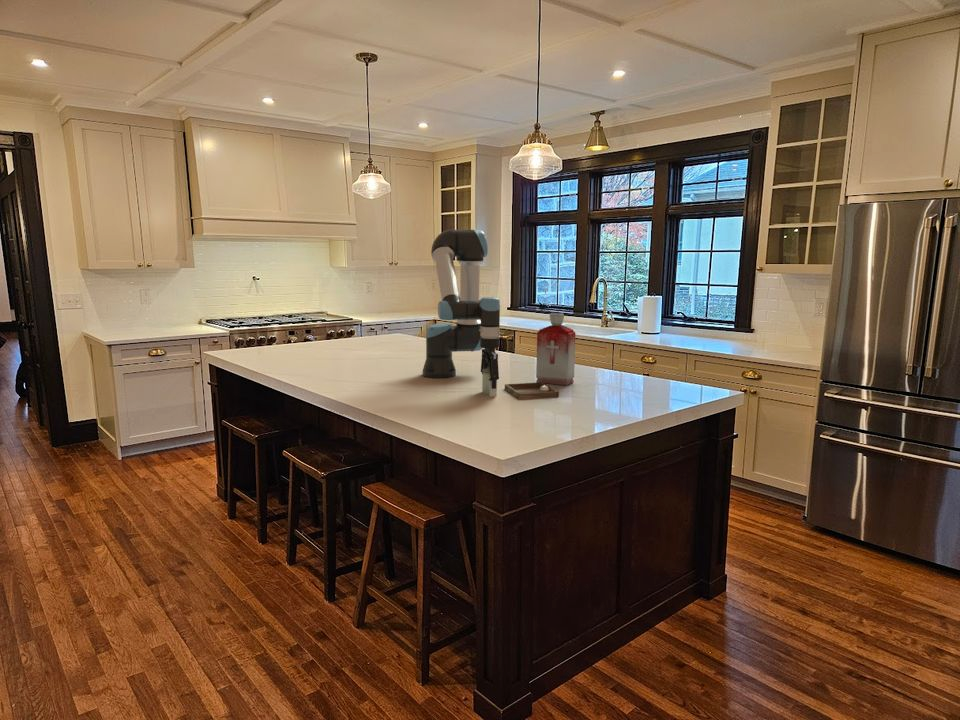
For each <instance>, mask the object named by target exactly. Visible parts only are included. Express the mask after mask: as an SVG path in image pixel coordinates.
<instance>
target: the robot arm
mask: <svg viewBox="0 0 960 720" xmlns="http://www.w3.org/2000/svg"><path fill="white" fill-rule="evenodd" d="M488 247H489V246H488V240H487V237H486V234H485V232H484V231H483V230H481V229H479V230H478V229H446V230H444V231H442V232H441V233H439V234H438V235H437V237H435V239H434V241H433V243H432V245H431V251H430V253H431V258H432V261H433V262H435V268H436V269H435V270H436V274H437V281H438V286H439V293H440V298H441V300H440V301H439V302H438V304H437V305H438V306H437V315H438V318H439V320H442V321H456V325H453V324H452V322H439V323H434V324H430V325H429V326H428V325H427V327H426V331H425V345H426V346H425V349H426V351H425V355H426V356H425V358H426V359H425V362H424V365H423V368H422V376H423V377H425V378H432V379H445V378H452V377H455V376H456V375H457V369H456V366H455V364H454V360H453V352H455V353H456V352H471V353H472V352H476V351H477V352H479V351H481V362H480V372H481V375H482V378H481V379H482V380H481V381H482V382H481V383H482V384H481V385H482V387H481V388H482V392H483V372H482V371H483V368H487V367H489V371H490V379H489V381H490V395H489V398H493V397H497V394H498V392H497V391H498V380H499V379H500V375H499V373H500V372H499V361H498V360H499V354H498V353H496V349H498V348H499V347H500V338H499V337H500V336H501V333H500V330H501V328H500V327H501V326H500V322H501V321H500V318H501V317H500V315H501V314H500V313H501V304H500V303H501V302H500V299H499V297H494V296H487V297H486V296H484V297H481V298H480V277H481V275H480V273H481V271H480V268H481V264H482V263H483V262H484V258H486V257H487V256H488V252H489V250H488V249H489V248H488ZM454 258H456V262H458V264H459V265H460V267H459V268H460V270H459V271H460V276H459V278H460V279H459V280H460V282H459V284H458V280H457V274H456V269H455V265H454V263H455V262H454ZM458 285H459V286H458ZM494 376H495V377H494Z"/></svg>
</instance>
